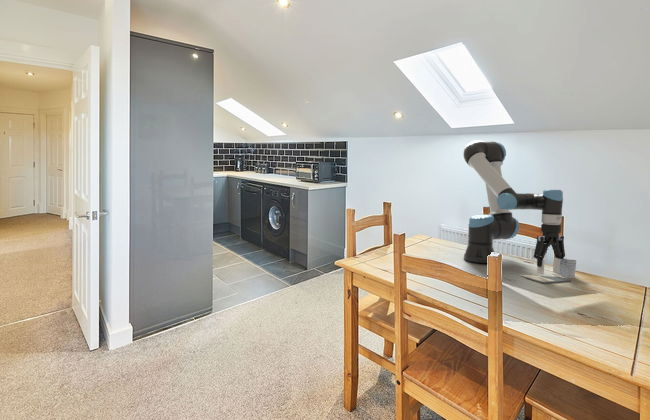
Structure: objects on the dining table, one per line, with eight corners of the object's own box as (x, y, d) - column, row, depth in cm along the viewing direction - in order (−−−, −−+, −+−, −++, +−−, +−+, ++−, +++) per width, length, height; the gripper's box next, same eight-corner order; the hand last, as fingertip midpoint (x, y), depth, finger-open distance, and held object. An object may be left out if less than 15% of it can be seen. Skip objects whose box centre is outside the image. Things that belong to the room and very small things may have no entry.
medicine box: (574, 279, 154) (577, 260, 153) (565, 278, 153) (567, 259, 153) (561, 274, 161) (563, 256, 161) (552, 274, 161) (554, 256, 161)
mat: (516, 275, 158) (516, 274, 158) (542, 273, 163) (542, 272, 163) (544, 284, 144) (544, 282, 144) (571, 281, 149) (571, 279, 149)
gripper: (540, 225, 146) (538, 276, 147) (577, 224, 153) (574, 273, 154) (525, 223, 153) (523, 272, 154) (560, 222, 160) (558, 269, 161)
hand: (548, 273), depth 154 cm, fingers open, 9 cm apart
